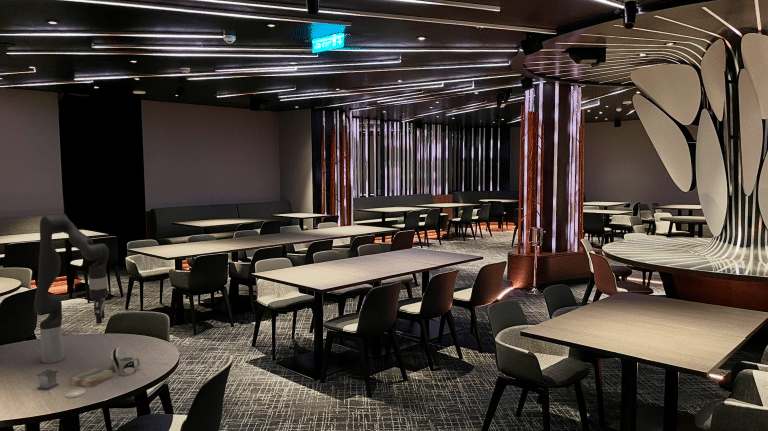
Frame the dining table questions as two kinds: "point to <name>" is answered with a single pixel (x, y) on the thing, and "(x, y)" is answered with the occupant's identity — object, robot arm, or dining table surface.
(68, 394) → the white smooth dome part
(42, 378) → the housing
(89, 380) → the wooden framed mirror
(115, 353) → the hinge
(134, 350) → the dining table surface
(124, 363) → the mug
